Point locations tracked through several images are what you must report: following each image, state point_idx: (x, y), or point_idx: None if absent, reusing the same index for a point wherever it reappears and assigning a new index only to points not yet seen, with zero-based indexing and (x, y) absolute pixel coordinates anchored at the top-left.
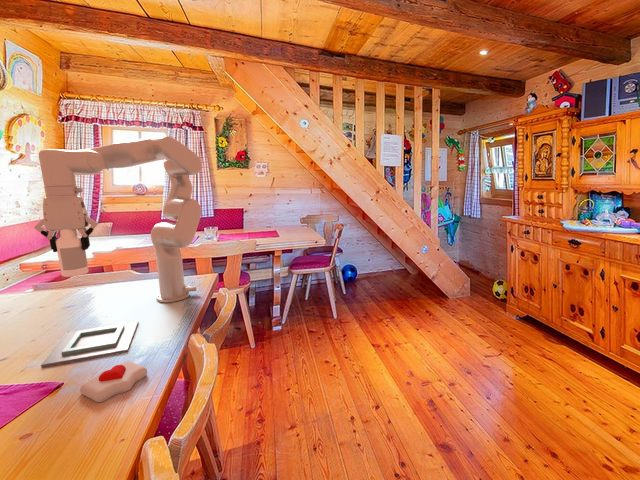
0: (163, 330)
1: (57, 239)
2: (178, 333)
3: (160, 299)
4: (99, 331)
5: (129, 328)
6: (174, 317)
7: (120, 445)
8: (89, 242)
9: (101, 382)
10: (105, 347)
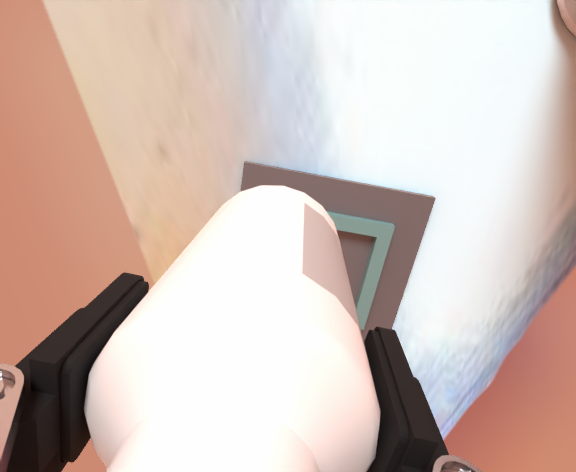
0: (479, 287)
1: (102, 457)
2: (504, 324)
3: (569, 6)
4: None
5: (403, 241)
6: (538, 214)
7: None
8: (424, 400)
9: None
10: None
